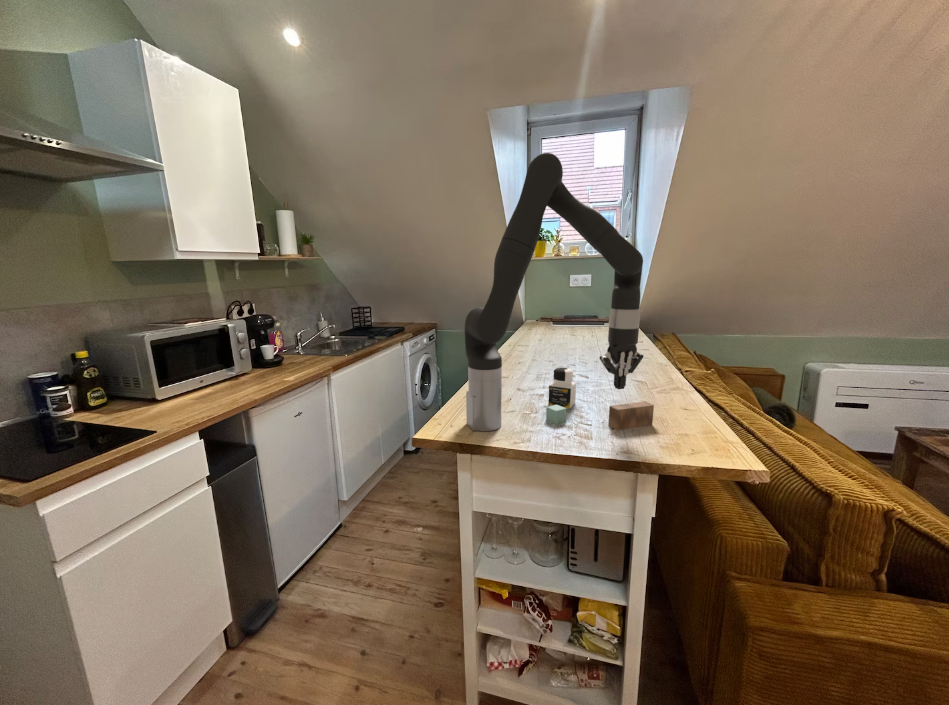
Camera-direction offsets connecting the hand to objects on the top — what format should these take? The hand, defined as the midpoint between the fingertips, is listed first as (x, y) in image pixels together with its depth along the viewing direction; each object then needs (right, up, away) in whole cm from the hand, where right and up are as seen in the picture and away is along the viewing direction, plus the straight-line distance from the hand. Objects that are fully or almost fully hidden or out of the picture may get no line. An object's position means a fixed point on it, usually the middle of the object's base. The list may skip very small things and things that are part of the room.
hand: (619, 388), depth 110 cm
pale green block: (-16, -10, +7) cm, 20 cm away
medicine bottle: (-11, -7, +21) cm, 25 cm away
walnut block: (-1, -8, +1) cm, 9 cm away
